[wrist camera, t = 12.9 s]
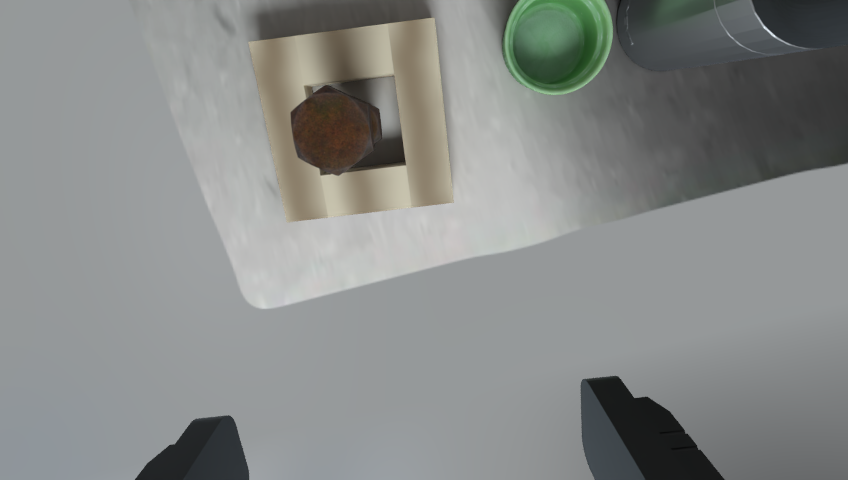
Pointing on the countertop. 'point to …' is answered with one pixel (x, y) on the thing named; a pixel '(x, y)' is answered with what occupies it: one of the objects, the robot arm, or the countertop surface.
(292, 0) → the countertop surface
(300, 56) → the frame
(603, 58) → the ramekin
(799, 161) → the countertop surface
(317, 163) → the bolt
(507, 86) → the countertop surface
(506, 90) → the countertop surface
